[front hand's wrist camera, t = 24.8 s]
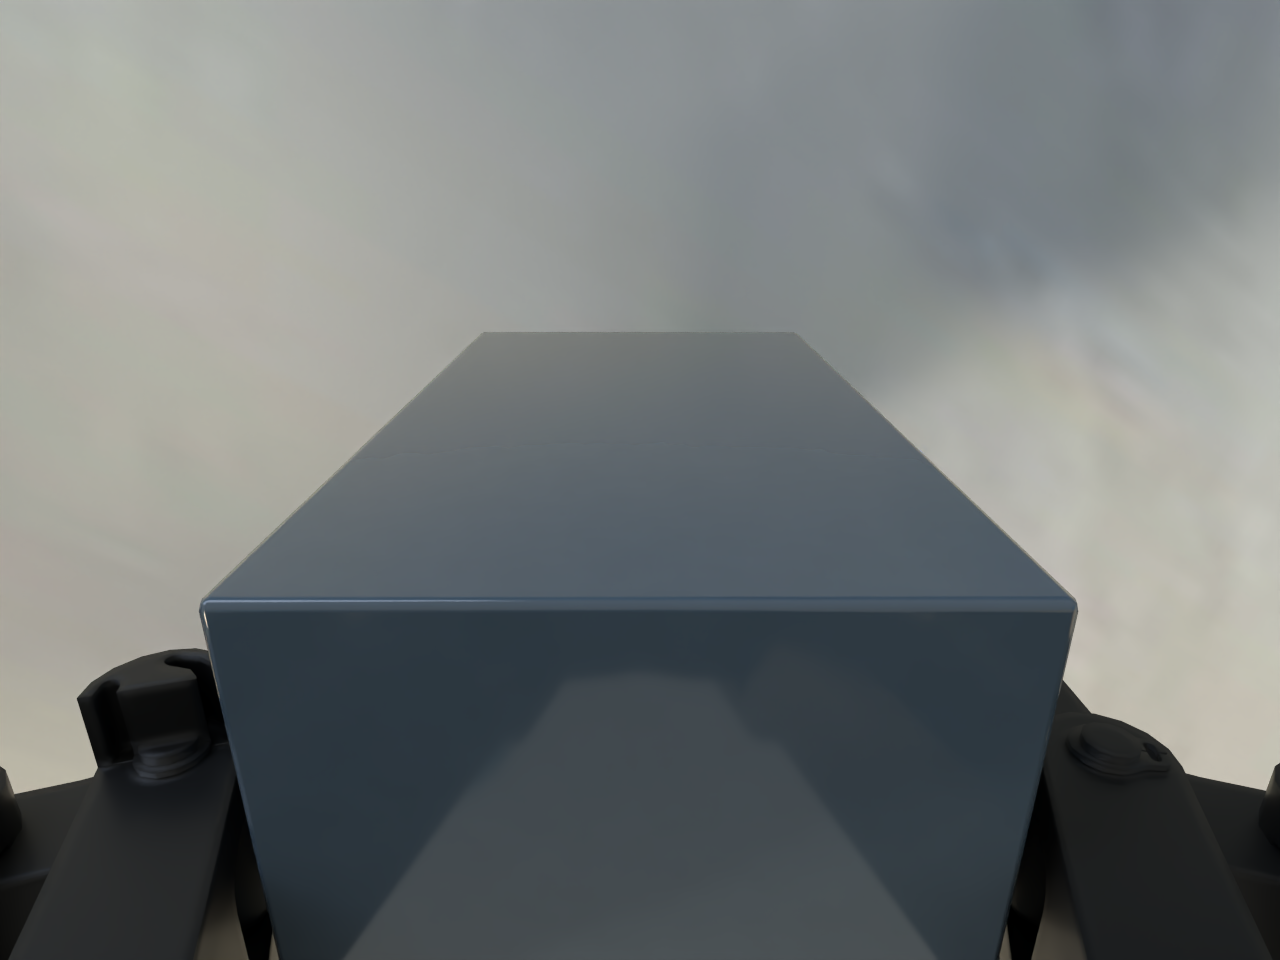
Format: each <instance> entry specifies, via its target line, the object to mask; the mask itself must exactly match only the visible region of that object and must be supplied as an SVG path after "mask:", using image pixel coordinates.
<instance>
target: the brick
mask: <svg viewBox="0 0 1280 960" xmlns="http://www.w3.org/2000/svg"><path fill="white" fill-rule="evenodd" d="M199 613H200V618H201V622H202V627H203V631H204V635H205V640H206V644H207V648H208V653H209V657H210V661H211V666H212V670H213V674H214V679H215V683H216V688H217V692H218V696H219V701H220V705H221V709H222V714H223V718H224V722H225V727H226V731H227V735H228V740H229V744H230V749H231V753H232V757H233V762H234V766H235V770H236V775H237V779H238V783H239V788H240V792H241V796H242V801H243V805H244V810H245V814H246V818H247V823H248V827H249V831H250V836H251V840H252V844H253V849H254V853H255V857H256V862H257V866H258V871H259V875H260V879H261V884H262V888H263V892H264V897H265V901H266V905H267V910H268V914H269V918H270V923H271V927H272V932H273V936H274V940H275V945H276V949H277V953H278V958H279V960H999V956H1000V951H1001V947H1002V942H1003V938H1004V934H1005V929H1006V925H1007V921H1008V916H1009V912H1010V907H1011V903H1012V899H1013V894H1014V890H1015V886H1016V881H1017V877H1018V872H1019V868H1020V864H1021V859H1022V855H1023V851H1024V846H1025V842H1026V837H1027V833H1028V829H1029V824H1030V820H1031V816H1032V811H1033V807H1034V802H1035V798H1036V794H1037V789H1038V785H1039V781H1040V776H1041V772H1042V767H1043V763H1044V759H1045V754H1046V750H1047V746H1048V741H1049V737H1050V732H1051V728H1052V724H1053V719H1054V715H1055V711H1056V706H1057V702H1058V697H1059V693H1060V689H1061V684H1062V680H1063V676H1064V671H1065V667H1066V663H1067V658H1068V654H1069V649H1070V645H1071V641H1072V636H1073V632H1074V628H1075V623H1076V619H1077V614H1078V607H1077V602H1076V600H1075V598H1074V597H1073V596H1072V595H1071V594H1070V593H1069V592H1068V591H1067V590H1066V589H1064V588H1063V587H1062V586H1061V585H1060V584H1059V583H1058V582H1057V581H1056V580H1055V579H1054V578H1053V577H1052V576H1051V575H1050V574H1049V573H1048V572H1047V571H1046V570H1045V569H1043V568H1042V567H1041V566H1040V565H1039V564H1038V563H1037V562H1036V561H1035V560H1034V559H1033V558H1032V557H1031V556H1030V555H1029V554H1028V553H1027V552H1026V551H1025V550H1024V549H1022V548H1021V547H1020V546H1019V545H1018V544H1017V543H1016V542H1015V541H1014V540H1013V539H1012V538H1011V537H1010V536H1009V535H1008V534H1007V533H1006V532H1005V531H1004V530H1003V529H1001V528H1000V527H999V526H998V525H997V524H996V523H995V522H994V521H993V520H992V519H991V518H990V517H989V516H988V515H987V514H986V513H985V512H984V511H983V510H981V509H980V508H979V507H978V506H977V505H976V504H975V503H974V502H973V501H972V500H971V499H970V498H969V497H968V496H967V495H966V494H965V493H964V492H963V491H962V490H960V489H959V488H958V487H957V486H956V485H955V484H954V483H953V482H952V481H951V480H950V479H949V478H948V477H947V476H946V475H945V474H944V473H943V472H942V471H941V470H939V469H938V468H937V467H936V466H935V465H934V464H933V463H932V462H931V461H930V460H929V459H928V458H927V457H926V456H925V455H924V454H923V453H922V452H921V451H920V450H918V449H917V448H916V447H915V446H914V445H913V444H912V443H911V442H910V441H909V440H908V439H907V438H906V437H905V436H904V435H903V434H902V433H901V432H900V431H899V430H897V429H896V428H895V427H894V426H893V425H892V424H891V423H890V422H889V421H888V420H887V419H886V418H885V417H884V416H883V415H882V414H881V413H880V412H879V411H878V410H876V409H875V408H874V407H873V406H872V405H871V404H870V403H869V402H868V401H867V400H866V399H865V398H864V397H863V396H862V395H861V394H860V393H859V392H858V391H856V390H855V389H854V388H853V387H852V386H851V385H850V384H849V383H848V382H847V381H846V380H845V379H844V378H843V377H842V376H841V375H840V374H839V373H838V372H837V371H835V370H834V369H833V368H832V367H831V366H830V365H829V364H828V363H827V362H826V361H825V360H824V359H823V358H822V357H821V356H820V355H819V354H818V353H817V352H816V351H814V350H813V349H812V348H811V347H810V346H809V345H808V344H807V343H806V342H805V341H804V340H803V339H802V338H801V337H800V336H799V335H798V334H796V333H794V332H484V333H482V334H481V335H480V336H478V337H477V338H476V339H475V340H474V341H473V342H472V343H471V344H470V345H469V346H468V347H467V348H466V349H465V350H464V351H463V352H462V353H461V354H460V355H458V356H457V357H456V358H455V359H454V360H453V361H452V362H451V363H450V364H449V365H448V366H447V367H446V368H445V369H444V370H443V371H442V372H441V373H439V374H438V375H437V376H436V377H435V378H434V379H433V380H432V381H431V382H430V383H429V384H428V385H427V386H426V387H425V388H424V389H423V390H422V391H421V392H419V393H418V394H417V395H416V396H415V397H414V398H413V399H412V400H411V401H410V402H409V403H408V404H407V405H406V406H405V407H404V408H403V409H402V410H401V411H399V412H398V413H397V414H396V415H395V416H394V417H393V418H392V419H391V420H390V421H389V422H388V423H387V424H386V425H385V426H384V427H383V428H382V429H380V430H379V431H378V432H377V433H376V434H375V435H374V436H373V437H372V438H371V439H370V440H369V441H368V442H367V443H366V444H365V445H364V446H363V447H362V448H360V449H359V450H358V451H357V452H356V453H355V454H354V455H353V456H352V457H351V458H350V459H349V460H348V461H347V462H346V463H345V464H344V465H343V466H341V467H340V468H339V469H338V470H337V471H336V472H335V473H334V474H333V475H332V476H331V477H330V478H329V479H328V480H327V481H326V482H325V483H324V484H323V485H321V486H320V487H319V488H318V489H317V490H316V491H315V492H314V493H313V494H312V495H311V496H310V497H309V498H308V499H307V500H306V501H305V502H304V503H303V504H301V505H300V506H299V507H298V508H297V509H296V510H295V511H294V512H293V513H292V514H291V515H290V516H289V517H288V518H287V519H286V520H285V521H284V522H282V523H281V524H280V525H279V526H278V527H277V528H276V529H275V530H274V531H273V532H272V533H271V534H270V535H269V536H268V537H267V538H266V539H265V540H264V541H262V542H261V543H260V544H259V545H258V546H257V547H256V548H255V549H254V550H253V551H252V552H251V553H250V554H249V555H248V556H247V557H246V558H245V559H243V560H242V561H241V562H240V563H239V564H238V565H237V566H236V567H235V568H234V569H233V570H232V571H231V572H230V573H229V574H228V575H227V576H226V577H225V578H223V579H222V580H221V581H220V582H219V583H218V584H217V585H216V586H215V587H214V588H213V589H212V590H211V591H210V592H209V593H208V594H207V595H206V596H205V597H203V598H202V600H201V603H200V609H199Z"/></svg>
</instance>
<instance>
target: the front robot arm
mask: <svg viewBox="0 0 1280 960" xmlns="http://www.w3.org/2000/svg"><path fill="white" fill-rule="evenodd" d="M77 701H78V704H79V707H80V710H81V714H82V717H83V720H84V723H85V727H86V730H87V733H88V736H89V740H90V743H91V746H92V749H93V753H94V756H95V759H96V762H97V766H98V769H97V771H96V773H95V775H94V777H92V778H88V779H84V780H80V781H76V782H71V783H66V784H61V785H57V786H52V787H47V788H42V789H37V790H33V791H28V792H23V793H18V794H14V792H13V790H12V787H11V784H10V781H9V778H8V776H7V773H6V770H5V769H3V768H2V767H0V960H279V958H278V953H277V949H276V945H275V940H274V936H273V932H272V927H271V923H270V918H269V914H268V910H267V905H266V901H265V897H264V892H263V888H262V884H261V879H260V875H259V871H258V866H257V862H256V857H255V853H254V849H253V844H252V840H251V836H250V831H249V827H248V823H247V818H246V814H245V810H244V805H243V801H242V796H241V792H240V788H239V783H238V779H237V775H236V770H235V766H234V762H233V757H232V753H231V749H230V744H229V740H228V735H227V731H226V727H225V722H224V718H223V714H222V709H221V705H220V701H219V696H218V692H217V688H216V683H215V679H214V674H213V670H212V666H211V661H210V657H209V653H208V651H207V650H201V649H196V648H194V649H178V650H168V651H164V652H159V653H155V654H151V655H147V656H142V657H140V658H137V659H135V660H132V661H130V662H127V663H125V664H123V665H120V666H118V667H115V668H113V669H112V670H110V671H109V672H107V673H105V674H104V675H102V676H101V677H99V678H97V679H96V680H94V681H93V682H91V683H90V684H89V685H88V687H87V688H86V689H85V690H84V691H83V692H82V693H81V694H80V695H79V697H78V698H77ZM999 960H1280V763H1279V764H1278V765H1276V766H1275V768H1274V771H1273V774H1272V776H1271V779H1270V782H1269V785H1268V787H1267V790H1266V791H1264V790H1259V789H1255V788H1250V787H1245V786H1240V785H1235V784H1231V783H1226V782H1221V781H1216V780H1211V779H1207V778H1202V777H1197V776H1194V775H1190V774H1186V773H1185V772H1184V769H1183V767H1182V766H1181V764H1180V763H1179V762H1178V760H1177V759H1176V758H1175V757H1174V755H1173V754H1172V753H1171V751H1170V750H1169V749H1168V748H1167V747H1165V746H1164V745H1163V744H1161V743H1160V742H1158V741H1157V740H1156V739H1154V738H1153V737H1152V736H1150V735H1149V734H1148V733H1146V732H1143V731H1141V730H1139V729H1137V728H1135V727H1133V726H1131V725H1129V724H1126V723H1124V722H1122V721H1119V720H1116V719H1112V718H1108V717H1105V716H1101V715H1097V714H1092V713H1091V712H1090V711H1089V710H1088V709H1087V708H1086V707H1085V705H1084V704H1083V703H1082V702H1081V701H1080V700H1079V698H1078V697H1077V696H1076V695H1075V694H1074V693H1073V691H1072V690H1071V689H1070V688H1069V687H1068V685H1067V684H1066V683H1065V682H1064V681H1063V680H1062V684H1061V689H1060V693H1059V697H1058V702H1057V706H1056V711H1055V715H1054V719H1053V724H1052V728H1051V732H1050V737H1049V741H1048V746H1047V750H1046V754H1045V759H1044V763H1043V767H1042V772H1041V776H1040V781H1039V785H1038V789H1037V794H1036V798H1035V802H1034V807H1033V811H1032V816H1031V820H1030V824H1029V829H1028V833H1027V837H1026V842H1025V846H1024V851H1023V855H1022V859H1021V864H1020V868H1019V872H1018V877H1017V881H1016V886H1015V890H1014V894H1013V899H1012V903H1011V907H1010V912H1009V916H1008V921H1007V925H1006V929H1005V934H1004V938H1003V942H1002V947H1001V951H1000V956H999Z"/></svg>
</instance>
